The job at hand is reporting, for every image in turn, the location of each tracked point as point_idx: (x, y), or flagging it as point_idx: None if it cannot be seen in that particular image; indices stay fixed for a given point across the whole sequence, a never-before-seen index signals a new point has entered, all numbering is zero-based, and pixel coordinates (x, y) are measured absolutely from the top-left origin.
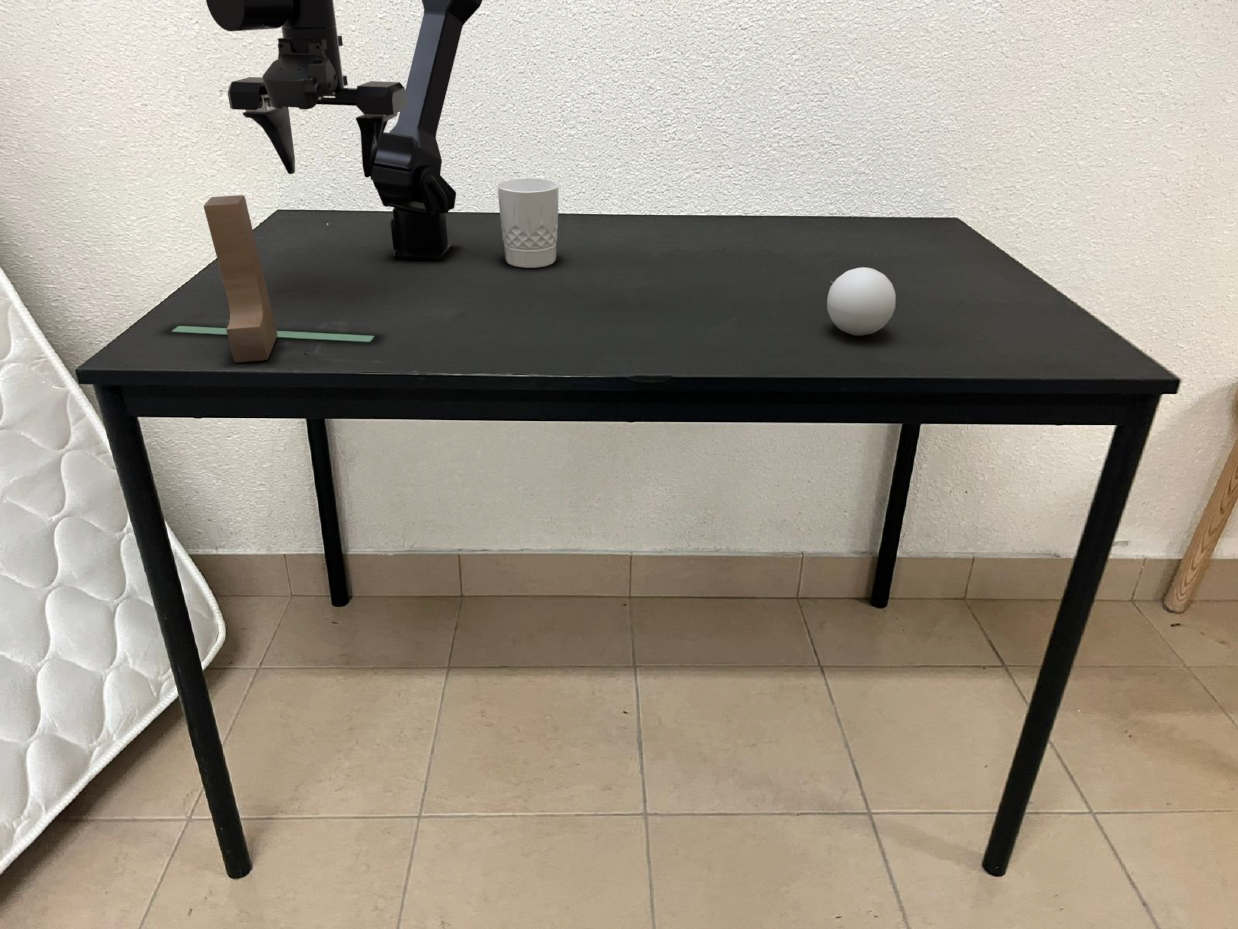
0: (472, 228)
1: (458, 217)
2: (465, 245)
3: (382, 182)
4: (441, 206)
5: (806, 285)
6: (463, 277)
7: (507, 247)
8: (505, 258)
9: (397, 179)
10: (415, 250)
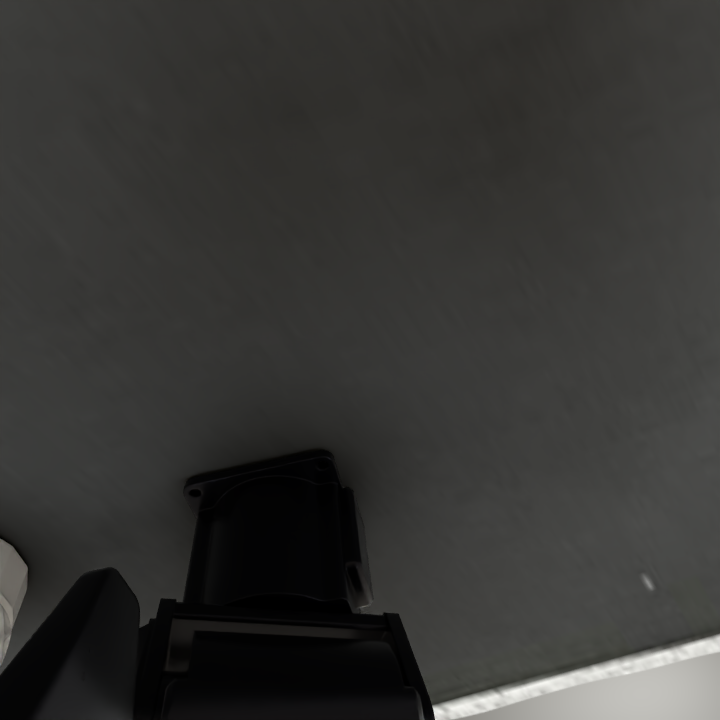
0: None
1: None
2: None
3: (345, 681)
4: (141, 650)
5: None
6: (12, 398)
7: None
8: (7, 547)
9: (246, 706)
10: (261, 489)
